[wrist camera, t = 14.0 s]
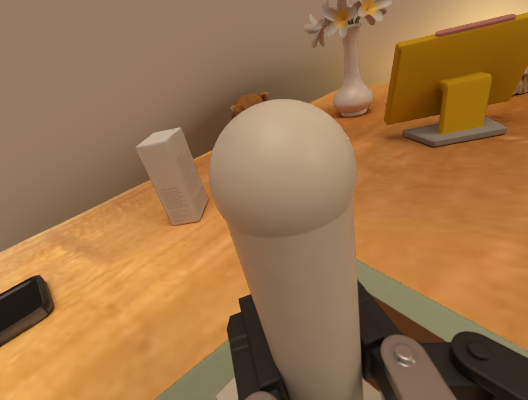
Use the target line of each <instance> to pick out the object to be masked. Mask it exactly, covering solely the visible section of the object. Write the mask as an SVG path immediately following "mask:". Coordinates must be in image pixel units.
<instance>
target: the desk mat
mask: <svg viewBox="0 0 528 400" xmlns="http://www.w3.org/2000/svg"><path fill="white" fill-rule="evenodd" d="M356 267H357V279H358V280H359V281H360V283H361V284H362V285H363V286H364V288H365V289H366V291H368V292H369V294H370V295H371V296H372V298H373V299H374V300H375V301H376V302H377V304H378V305H379V306H380V307H381V308H382V310H383V311H384V312H385V313H386V315H387V316H388V317H389V318H390V319H391V321H392V322H393V323H394V324H395V326H396V327H397V328H398V329H399V330H400V331H401V332H402V333H403V334H404V335H406V336H408V337H410V338H412V339H414V340H416V341H419V342H424V343H437V342H452V339H453V337H454V336H455V335H456V334H457V333H460V332H464V331H470V332H476V333H479V334H482V335H484V336H486V337H488V338H490V339H492V340H494V341H496V342H498V343H500V344H502V345H504V346H506V347H508V348H510V349H512V350H513V351H515V352H517V353H519V354H521V355H523V356H525V357H527V358H528V351H527V350H525V349H523V348H521V347H519V346H517V345H516V344H514V343H512V342H510V341H508V340H506V339H504V338H503V337H501V336H499V335H497V334H495V333H493V332H491V331H489V330H488V329H486V328H484V327H482V326H480V325H478V324H476V323H475V322H473V321H471V320H469V319H467V318H465V317H463V316H461V315H460V314H458V313H456V312H454V311H452V310H450V309H448V308H447V307H445V306H443V305H441V304H439V303H437V302H435V301H433V300H432V299H430V298H428V297H426V296H424V295H422V294H420V293H419V292H417V291H415V290H413V289H411V288H409V287H407V286H405V285H404V284H402V283H400V282H398V281H396V280H394V279H392V278H391V277H389V276H387V275H385V274H383V273H381V272H379V271H377V270H376V269H374V268H372V267H370V266H368V265H366V264H364V263H363V262H361V261H359V260H357V259H356ZM234 377H235V375H234V369H233V362H232V356H231V350H230V343H229V340H228V341H226V342H225V343H224V344H223V345H221V346H220V347H219V348H218V349H216V350H215V351H214V352H213V353H211V354H210V355H209V356H208V357H207V358H205V359H204V360H203V361H202V362H200V363H199V364H198V365H197V366H195V367H194V368H193V369H192V370H190V371H189V372H188V373H187V374H185V375H184V376H183V377H182V378H180V379H179V380H178V381H177V382H175V383H174V384H173V385H172V386H171V387H169V388H168V389H167V390H166V391H164V392H163V393H162V394H161V395H159V396H158V397H157V398H156V399H154V400H217V398H216V395H217V394H218V393H219V392H220V391H221V390H222V389H223V388H224V387H225V386H226V385H227V384H228V383H229V382H230V381H231V380H232V379H233V378H234ZM362 378H363V376H362ZM363 379H364V378H363ZM364 380H365V379H364ZM367 382H368V383H369V384H370V385H371V386H373V387H374V388H375V389H376V390H378V391H379V392H380V389H379V387H378V385H377V384H376V382H375V380H374V379H371V380H369V381H367Z"/></svg>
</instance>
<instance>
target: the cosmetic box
mask: <svg viewBox="0 0 528 400" xmlns="http://www.w3.org/2000/svg"><path fill="white" fill-rule="evenodd" d="M135 148H136V150H137V152H138V154H139V157H140V159H141V161H142V163H143V165H144V167H145V169H146V171H147V173H148V175H149V178H150V180H151V182H152V184H153V186H154V188H155V190H156V192H157V194H158V196H159V198H160V200H161V202H162V204H163V206H164V209H165V211H166V213H167V215H168V217H169V219H170V221H171V223H172V225H174V226H175V225H180V224H186V223H193V222H198V221H200V218H201V216H202V213H203V211H204V208H205V206H206V204H207V201H208V198H207V195H206V193H205V190H204V187H203V185H202V182H201V179H200V177H199V174H198V171H197V169H196V166H195V164H194V161H193V158H192V156H191V153H190V150H189V148H188V145H187V142H186V139H185V137H184V134H183V132H182V129H181V128H175V129H170V130H165V131H160V132H156V133H153V134H152V135H151V136H149V137H148V138H147V139H145V140H144V141H143V142H142V143H140V144H139V145H138V146H136V147H135Z"/></svg>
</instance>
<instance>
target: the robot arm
mask: <svg viewBox="0 0 528 400" xmlns="http://www.w3.org/2000/svg"><path fill="white" fill-rule="evenodd" d="M357 286H358V305H359V325H360V344H361V363H362V376H363V378H364V379H365V381H366V382H367V381H369V380H371V379H374V380H375V382H376V384H377V385H378V387H379V389H380V395H381V399H382V400H528V358H527V357H525V356H523V355H521V354H519V353H517V352H515V351H513V350H512V349H510V348H508V347H506V346H504V345H502V344H500V343H498V342H496V341H494V340H492V339H490V338H488V337H486V336H484V335H482V334H479V333H476V332H470V331H464V332H460V333H457V334H456V335H455V336H454V337H453V339H452V342H437V343H424V342H419V341H416V340H414V339H412V338H410V337H408V336H406V335H404V334H403V333H402V332H401V331H400V330H399V329H398V328H397V327H396V326H395V324H394V323H393V322H392V321H391V319H390V318H389V317H388V316H387V315H386V313H385V312H384V311H383V310H382V308H381V307H380V306H379V305H378V304H377V302H376V301H375V300H374V299H373V298H372V296H371V295H370V294H369V292H368V291H366V289H365V288H364V286H363V285H362V284H361V283H360V281H359V280H358V279H357ZM239 304H240V308H241V312H240V313H237V314H235V315H232V316H230V319H229V323H228V327H227V332H228V338H229V343H230V350H231V356H232V362H233V369H234V375H235V381H236V387H237V393H238V400H288V397H287V394H286V391H285V388H284V385H283V382H282V379H281V376H280V373H279V370H278V368H277V366H276V364H275V362H274V359H273V357H272V354H271V351H270V348H269V345H268V342H267V339H266V336H265V333H264V330H263V327H262V324H261V321H260V318H259V316H258V313H257V310H256V307H255V304H254V301H253V298H252V295H251V294H250V295H247V296H245V297H242V298H239Z"/></svg>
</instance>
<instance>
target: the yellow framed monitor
mask: <svg viewBox="0 0 528 400" xmlns="http://www.w3.org/2000/svg"><path fill="white" fill-rule="evenodd" d="M527 67H528V13H525V14H521V15H514V14H510V15H505V16H501V17H497V18H492V19H488V20H484V21H480V22H475V23H471V24H467V25H462V26H458V27H454V28H449V29H445V30H441V31H437V32H436V34H434V35H430V36H425V37H421V38H417V39H412V40H408V41H404V42H399V43H397V44H396V48H395V54H394V60H393V66H392V73H391V79H390V85H389V91H388V98H387V104H386V110H385V116H384V121H385V123H386V124H387V125H390V124H395V123H400V122H405V121H410V120H415V119H420V118H425V117H430V116H435V115H440V121H439V124H434V125H429V126H424V127H419V128H414V129H409V130H404V131H403V136H404V137H407V138H410V139H413V140H415V141H418V142H421V143H423V144H426V145H429V146H432V147H438V146H443V145H448V144H454V143H459V142H464V141H469V140H475V139H480V138H485V137H491V136H496V135H501V134H505V133H506V130H507V127H505V126H503V125H502V124H500V123H498V122H496V121H494V120H493V119H491V118H489V117H487V116H485V113H486V108H487V105H489V104H494V103H499V102H504V101H509V100H510V99H511V97H512V95H513V93H514V92H515V90H516V88H517V86H518V84H519V82H520V80H521V78H522V76H523V75H524V73H525V71H526V69H527Z"/></svg>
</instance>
